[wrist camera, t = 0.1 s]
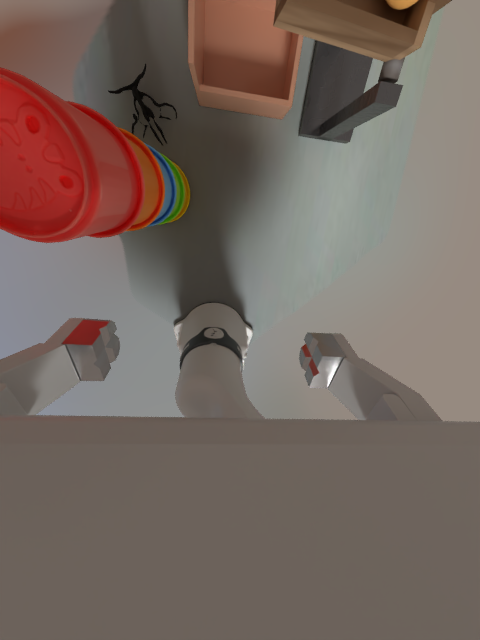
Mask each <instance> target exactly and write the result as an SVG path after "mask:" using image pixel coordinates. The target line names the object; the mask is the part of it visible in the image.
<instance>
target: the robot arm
mask: <svg viewBox="0 0 480 640" xmlns="http://www.w3.org/2000/svg"><path fill="white" fill-rule="evenodd" d="M115 331H116V325H115V322H113V321H110V320H98V319H84V318H71V319H69V320H68V321H67V322H66V323H65V324H63V326H61V327H60V328H59V329H58V331H57V332H55V333H54V334H53V335H52V336H51V337H50V338H49V339H48V340H47V341H46V342H45V343H44V344H42V343H39V344H37V345H34V346H32V347H30V348H27V349H25V350H22V351H20V352H18V353H15V354H13V355H10V356H8V357H6V358H3V359H1V360H0V640H480V422H454V421H442V420H441V419H440V417H439V416H438V415H437V414H436V413H435V412H434V410H433V409H432V408H431V407H430V406H429V404H428V403H427V402H426V401H425V400H424V398H423V397H422V396H421V395H420V394H419V393H417V392H415V391H414V390H412V389H411V388H409V387H407V386H406V385H404V384H402V383H401V382H399V381H398V380H396V379H394V378H393V377H391V376H390V375H388V374H387V373H385V372H383V371H382V370H380V369H378V368H377V367H375V366H373V365H372V364H371V363H369V362H367V361H366V360H364V359H360V358H359V357H358V356H357V354H356V353H355V351H354V350H353V349H352V347H351V346H350V344H349V343H348V341H347V340H346V339H345V337H344V336H343V335H342V334H338V333H329V334H328V333H307V334H306V336H305V339H304V340H305V343H306V344H305V345H304V346H303V347H301V350H300V355H299V356H300V357H299V360H300V364H301V367H302V368H303V369H304V370H305V371H306V373H305V378H306V380H307V383H308V386H309V387H312V388H328V390H329V391H330V392H331V393H332V394H333V395H334V396H335V397H336V398H337V399H338V400H339V401H340V402H341V403H342V404H343V405H344V406H345V407H346V408H347V409H348V410H349V411H350V412H351V413H352V414H353V415H354V416H355V417H356V418H357V419H358V420H324V419H321V420H320V419H265V418H264V417H263V416H262V415H261V414H260V413H259V412H258V410H257V409H256V408H255V407H254V406H253V404H252V403H251V401H250V400H249V398H248V396H247V394H246V391H245V387H244V383H243V378H242V370H243V369H244V366H245V361H243V358H244V359H246V357H247V353H246V351H247V350H248V345H249V343H250V340H251V338H252V335H253V330H252V328H251V327H249V326H248V325H247V324H245V323H244V322H243V320H242V318H241V317H240V315H239V314H238V313H237V312H236V311H235V310H234V309H232V308H231V307H229V306H227V305H224V304H220V303H207V304H203V305H200V306H198V307H196V308H195V309H193V310H192V311H191V312H190V313H189V314H188V316H187V317H186V318H185V319H184V320H182V321H180V322H178V323H176V324H175V326H174V332H175V336H176V339H177V346H178V347H179V350H180V354H181V358H180V375H179V379H178V383H177V387H176V392H175V399H176V403H177V406H178V408H179V410H180V411H181V413H182V414H183V415H184V417H183V418H182V417H123V416H118V417H117V416H53V415H36V414H37V413H39V412H40V411H41V410H43V409H44V408H45V407H47V406H48V405H50V404H51V403H52V402H54V401H55V400H56V399H58V398H59V397H60V396H62V395H63V394H64V393H66V392H67V391H69V390H70V389H71V388H73V387H74V386H75V385H77V384H78V383H79V382H80V381H104V380H105V378H106V376H107V374H108V373H109V371H110V369H111V366H110V363H111V362H113V361H115V360H116V358H117V356H118V354H119V350H120V341H119V338H118V337H117V336H116V335H115V334H114V333H115ZM179 332H180V333H179ZM247 336H248V337H247Z"/></svg>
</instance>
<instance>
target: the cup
mask: <svg viewBox="0 0 480 640" xmlns="http://www.w3.org/2000/svg"><path fill="white" fill-rule="evenodd" d="M275 7H276V0H188V64H189V68H190V71H191V75H192V79H193V83H194V87H195V90H196V94H197V98H198V102H199V106H205V107H211V108H217V109H223V110H229V111H234V112H240V113H246V114H252V115H258V116H264V117H270V118H276V119H283V117H284V116H285V115H286V114H287V112H288V111H289V110H290V108H291V107H292V102H293V96H294V90H295V84H296V78H297V72H298V66H299V60H300V54H301V48H302V42H303V36H302V35H299V34H296V33H293V32H290V31H287V30H283V29H280V28H277V27H274V26H273V23H274V15H275Z"/></svg>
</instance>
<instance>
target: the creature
mask: <svg viewBox="0 0 480 640" xmlns="http://www.w3.org/2000/svg"><path fill="white" fill-rule="evenodd" d="M145 70H146V64H145V67H144V70H143V72H142V74H140V75H139V76H138V77H137V79H136V80H135V81H134V82H133V83H132V84H130V85H128V86H125V87H123V88H120V89H119V90H116V91H109V90H108V92H110V93H115V94H119V93H121V92H122V91H125V90H132V93H133V96H134V105H135V102H136V100H137V101H138V102H139V104H140V106H141V109H142V111H143V114H144V117H145V119H146V120H147V121H148V122H149V121H150V119H149V117H150V116H151V117H152V118H153V119H154V118H155V117H154V114H153V112H152V111H151V109H150V108H148V107H147V106H146V105H145V104H144V103H143V101H142V99H143V96H148V95H147V94H145V93H143V92H140V91H139V90H138V89H137V87H138V84H139V82H140V79H141V78H142V77H143V76H144V74H145ZM148 97H149V98H150V99H151V100H152V101H153V103H154V105H156V106H158V107H161V106H164V105H167V106H170V107H173V106H172V105H170V104H168V103H163V104H158V103H157V102H156V101H155V100H154V99H153V98H152V97H150V96H148ZM173 109H174V110H175V112H176V109H175V108H174V107H173ZM135 110H136V112H137V114H138V119H139V113H138V110H137V108H136V105H135ZM160 111H161V109H160ZM133 117H134V119H135V122H134V123H133V125H132V134H133V132H134V125H135V124H136V123H137V121H138V119H137V116H136V115H135V114H133ZM159 118H166V117H162V116H161V114H160V117H159ZM176 118H177V112H176ZM167 119H169V118H167ZM169 120H171V119H169ZM154 122H155V120H154ZM140 123H141V122H140ZM149 125H150V123H149ZM155 125H156V126H157V128H158V130H159V131H160V133H161V135H162V137H163V138H164V135H163V132H162V130H161V128H160V127H159V126H158V125H157V123H156V122H155ZM147 126H148V125H145V130H146V128H147ZM150 128H151V129H152V131H153V133H154V135H155V136H156V138H157V139H158V141H160V139H159V137H158V136H157V134H156V132H155V131H154V129H153V128H152V126H151V125H150ZM145 130H144V134H143V138H144V135H145ZM164 140H165V138H164ZM165 142H166V140H165ZM160 143H161V144H162V142H161V141H160ZM166 143H167V142H166ZM162 145H163V144H162Z"/></svg>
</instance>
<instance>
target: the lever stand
mask: <svg viewBox="0 0 480 640" xmlns="http://www.w3.org/2000/svg"><path fill="white" fill-rule="evenodd" d="M372 59H373V58H371V57H368V56H365V55H362V54H359V53H356V52H353V51H349V50H346V49H343V48H340V47H337V46H334V45H331V44H327V43H324V42H321V41H318V40H316V44H315V49H314V55H313V60H312V65H311V71H310V76H309V82H308V87H307V92H306V98H305V103H304V109H303V114H302V119H301V125H300V130H299V135H298V136H303V137H309V138H315V139H321V140H327V141H333V142H340V143H348V142H350V140H351V136H352V132H353V129H354V128H355V127H357V126H359V125H361V124H363V123H365V122H367V121H369V120H370V119H372V118H374V117H376V116H378V115H380V114H382V113H384V112H386V111H388V110H390V109H392V108H394V107H396V105H397V102H398V99H399V96H400V93H401V90H402V87H403V85H399V84H394V83H388V82H383V81H380V82H379V83H378V84H376V85H375V86H373V87H372V88H371V89H369V90H368V91H366V92H365V93H364V94H363V92H364V89H365V85H366V81H367V78H368V74H369V70H370V67H371V63H372Z"/></svg>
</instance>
